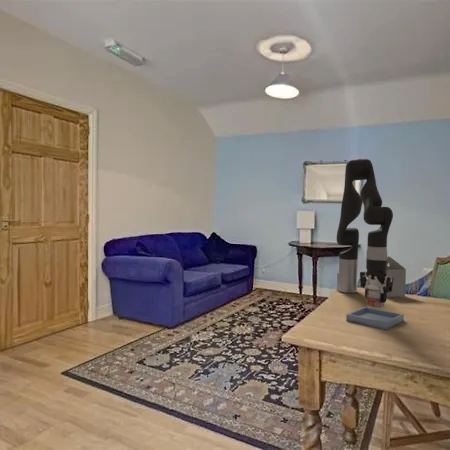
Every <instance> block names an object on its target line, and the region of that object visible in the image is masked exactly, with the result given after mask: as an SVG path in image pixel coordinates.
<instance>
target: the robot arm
mask: <svg viewBox="0 0 450 450" xmlns="http://www.w3.org/2000/svg"><path fill="white" fill-rule="evenodd" d="M365 180H366V181H365ZM354 181H365V182H364V185H363V186H362V188H361V190H360V194H359V192H358V191H357V189H356V188H355V185H354ZM382 199H383V198H382V197H381V195H380V193H379V190H378V187H377V180H376V175H375V170H374V165H373V163H372V160H370V159H369V158H360V159H349V160H347V162H346V165H345V172H344V188H343V195H342V200H341V209H340V215H339V216H340V217H339V223H338V226H337V231H336V232H337V233H336V243H337V244H338V245H339V246H349V247H350V248H349V249H347V250H344V251H341V252H339V254H338V255H339V256H338V271H337V275H336V277H337V278H336V290H337V291H338V292H341V293H345V294H347V293H348V294H354V293H358V266H359V265H358V263H359V262H358V260H359V259H358V256H359V240H360V232H359V229H358V228H356V227H348V226H349V225H350V224H351V223H352V222H354V221H355V220H356V219H357V218H358V217H359V216H360V214H361V212H362V206H363V221H364V223H366V224H367V225H369V226H372V225H373V226H379V227H378V229H376V230H373V231H369V232H368V233H367V244H366V245H367V246H366V247H367V249H366V256H365V257H366V258H365V260H366V261H365V263H366V264H365V269H366V271H360V272H359V281H360V287H361V288H363V289H364V298H365V300H367V286H368V285H369V284H370V282H369V281H370V279H374V280H376V281H377V285H378V287H379V288H380V291H381V294H380V302H381V303H384V304H385V303H386V302H387V298H388V297H387V293H388V292H392V287H393V280H394V278H393V277H389V276H387V275H386V270H387V266H388V265H387V257H388V234H389V231H390V227H391V224H392V221H393V217H394V213H393V210H392V209H391V207H388V206H382V205H383V200H382ZM385 279H386V280H385ZM385 281H386V283H385ZM381 284H382V285H381ZM383 288H384V289H383Z"/></svg>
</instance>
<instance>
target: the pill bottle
mask: <svg viewBox="0 0 450 450" xmlns="http://www.w3.org/2000/svg"><path fill="white" fill-rule="evenodd" d="M369 282H370V284H369V285H368V286H367V299H366V307H369V308H373V309H379V310H382V309H384V307H385V305H384V304H385V303H381V302H380V294H381V291H380V288H379V287H378V285H377V281H376V280H374V279H370V281H369ZM381 285H382V284H381ZM383 289H384V288H383Z"/></svg>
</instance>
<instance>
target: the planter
mask: <svg viewBox="0 0 450 450" xmlns="http://www.w3.org/2000/svg"><path fill="white" fill-rule="evenodd" d="M388 265H389V266H388ZM386 275H387V276H389V277H393V278H394V280H393V287H392V292H388V293H387V298H398V296H402V297H406V284H407V283H406V282H407V281H406V280H407V279H406V278H407V277H406V276H407V269H406V268H405V267H404V266H403V265H401V264H400V263H399V262H397V261H396V260H394V258H392V257H391V256H388V255H387V270H386ZM385 280H386V279H385ZM385 283H386V281H385Z"/></svg>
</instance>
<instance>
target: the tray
mask: <svg viewBox="0 0 450 450" xmlns="http://www.w3.org/2000/svg"><path fill="white" fill-rule="evenodd" d="M404 315H405V314H403V313H400V312H395V311H394V312H393V311H389V310H382V309H373V308H369V307H368V306H363V307H360V308H358V309H355V310H353V311H351V312H348V313H346V317H345V318H346V319H345V321H346V322H347V321H348V322H351V323H356V324H359V325H364V326H370V327H374V328H377V329H382V330H387V331H388V330H390V329H392V328H393V327H395V326H397V325H400V324H401V323H402V322H403V321H404V320H405V319H404Z"/></svg>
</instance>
